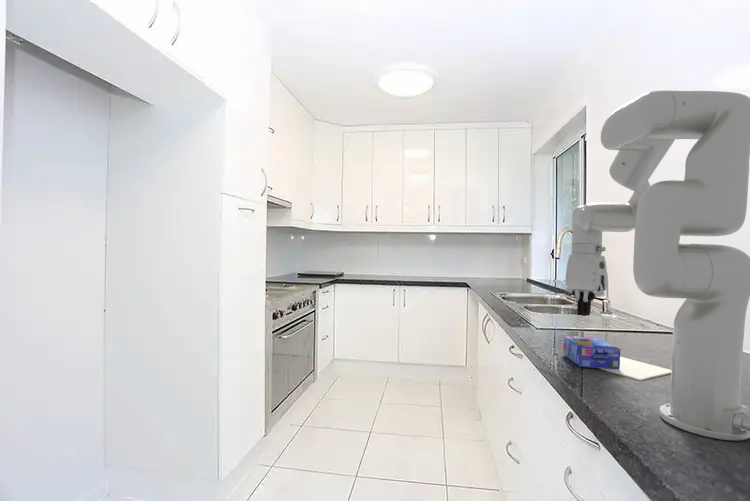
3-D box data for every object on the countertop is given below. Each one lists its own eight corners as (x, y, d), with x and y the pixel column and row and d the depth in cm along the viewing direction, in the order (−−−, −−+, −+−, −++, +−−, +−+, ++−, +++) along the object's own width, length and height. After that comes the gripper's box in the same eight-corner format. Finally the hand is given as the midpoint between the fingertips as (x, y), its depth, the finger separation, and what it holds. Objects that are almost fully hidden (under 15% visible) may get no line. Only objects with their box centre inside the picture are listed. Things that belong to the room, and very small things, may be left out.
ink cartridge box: (600, 336, 112) (626, 351, 98) (599, 355, 113) (625, 374, 98) (563, 334, 113) (583, 349, 99) (562, 354, 114) (582, 371, 99)
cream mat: (674, 372, 101) (674, 371, 101) (639, 381, 94) (640, 379, 94) (611, 355, 115) (611, 354, 115) (577, 361, 108) (577, 360, 108)
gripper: (620, 251, 109) (617, 319, 109) (571, 249, 122) (568, 310, 123) (603, 251, 105) (600, 321, 106) (554, 249, 119) (551, 311, 119)
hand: (583, 315), depth 114 cm, fingers closed
